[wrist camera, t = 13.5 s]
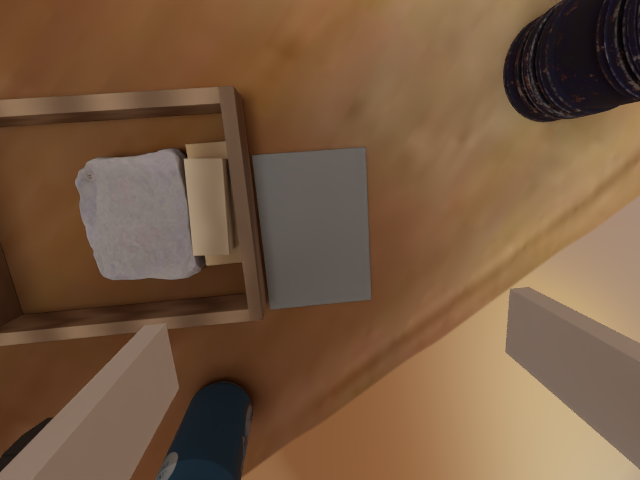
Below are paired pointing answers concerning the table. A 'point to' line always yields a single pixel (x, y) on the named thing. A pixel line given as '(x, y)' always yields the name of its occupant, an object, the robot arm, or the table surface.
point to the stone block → (138, 216)
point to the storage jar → (575, 60)
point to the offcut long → (220, 152)
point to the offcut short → (210, 206)
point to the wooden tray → (15, 328)
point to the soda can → (211, 436)
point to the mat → (314, 226)
